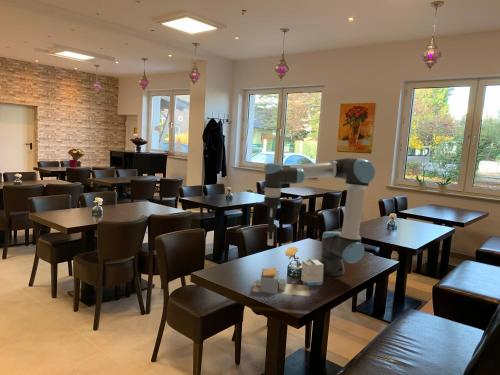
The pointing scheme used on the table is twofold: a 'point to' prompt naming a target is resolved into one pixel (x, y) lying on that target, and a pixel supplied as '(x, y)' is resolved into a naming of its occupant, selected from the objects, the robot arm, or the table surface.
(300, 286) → the birch board
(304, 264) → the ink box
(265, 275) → the keeper tab
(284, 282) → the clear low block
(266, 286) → the hitch block
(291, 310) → the table surface
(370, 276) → the table surface
